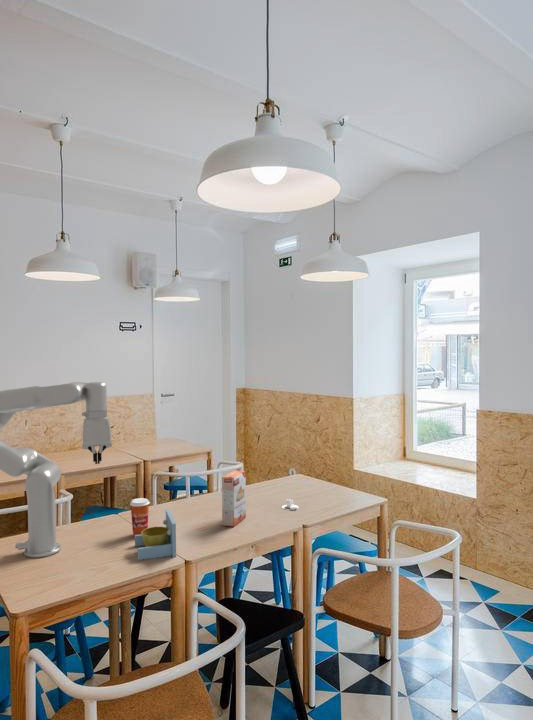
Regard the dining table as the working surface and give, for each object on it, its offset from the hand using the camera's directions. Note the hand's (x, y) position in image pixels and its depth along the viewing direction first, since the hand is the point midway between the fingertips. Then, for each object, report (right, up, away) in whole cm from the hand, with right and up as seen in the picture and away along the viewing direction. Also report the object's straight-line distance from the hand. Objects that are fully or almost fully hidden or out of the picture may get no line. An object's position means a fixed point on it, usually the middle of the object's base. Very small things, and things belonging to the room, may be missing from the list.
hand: (97, 463), depth 193 cm
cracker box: (+50, -31, +29) cm, 66 cm away
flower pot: (+23, -32, -3) cm, 39 cm away
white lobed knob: (+73, -31, +45) cm, 92 cm away
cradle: (+22, -32, -3) cm, 39 cm away
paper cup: (+13, -32, +14) cm, 37 cm away
